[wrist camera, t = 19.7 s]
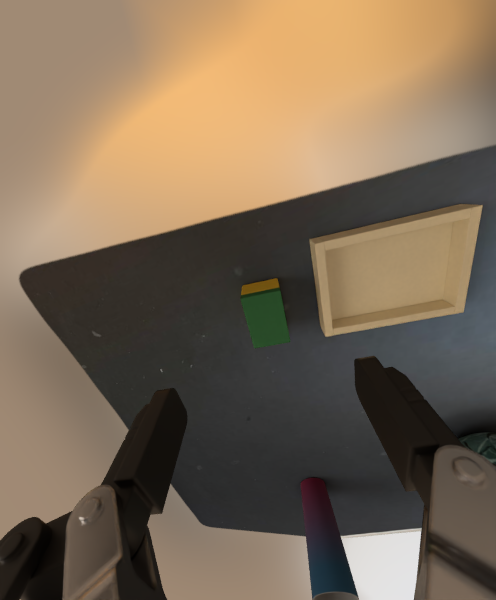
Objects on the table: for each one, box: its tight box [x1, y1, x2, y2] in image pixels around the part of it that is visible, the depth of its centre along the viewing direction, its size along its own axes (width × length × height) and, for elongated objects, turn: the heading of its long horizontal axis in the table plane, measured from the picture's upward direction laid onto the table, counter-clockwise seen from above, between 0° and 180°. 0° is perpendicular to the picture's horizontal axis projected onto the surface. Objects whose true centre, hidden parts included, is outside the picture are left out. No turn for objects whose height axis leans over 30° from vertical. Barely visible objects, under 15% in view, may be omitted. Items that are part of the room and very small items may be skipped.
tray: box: [310, 204, 483, 337], centre depth 26 cm, size 16×12×3 cm
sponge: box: [241, 278, 290, 348], centre depth 28 cm, size 7×4×4 cm, turn 14°
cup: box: [301, 478, 359, 600], centre depth 41 cm, size 7×7×15 cm
